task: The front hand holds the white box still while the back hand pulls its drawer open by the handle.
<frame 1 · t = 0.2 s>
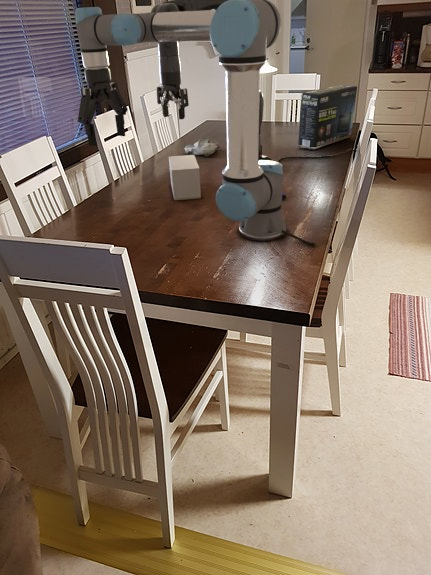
front hand: (107, 140, 148), 28 cm above the table, tool pointing down, fingers open, 13 cm apart
back hand: (173, 117, 170), 29 cm above the table, tool pointing down, fingers open, 8 cm apart
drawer: (183, 172, 189), point 6 cm above the table, slide at 0.9 cm
white box: (185, 191, 187), on the table
fossil: (201, 152, 237), on the table
handgun: (270, 191, 183), on the table
router box: (325, 143, 245), on the table
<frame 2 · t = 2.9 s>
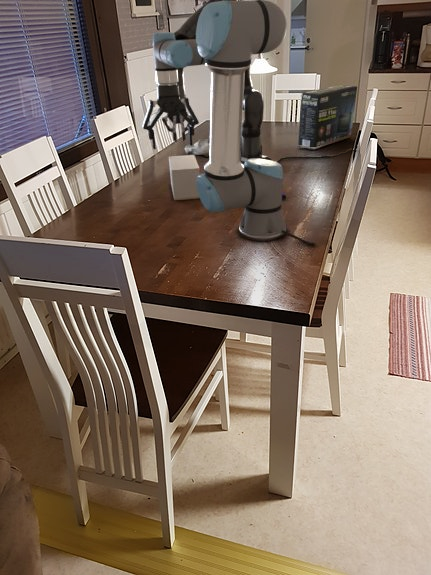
front hand: (172, 146, 168), 20 cm above the table, tool pointing down, fingers open, 13 cm apart
back hand: (179, 141, 191), 16 cm above the table, tool pointing down, fingers closed
nothing on the table moved.
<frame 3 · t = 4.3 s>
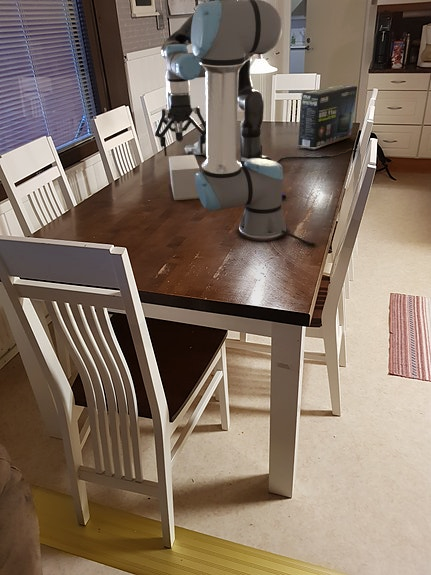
front hand: (183, 153, 173), 17 cm above the table, tool pointing down, fingers open, 13 cm apart
back hand: (179, 141, 191), 16 cm above the table, tool pointing down, fingers closed
nothing on the table moved.
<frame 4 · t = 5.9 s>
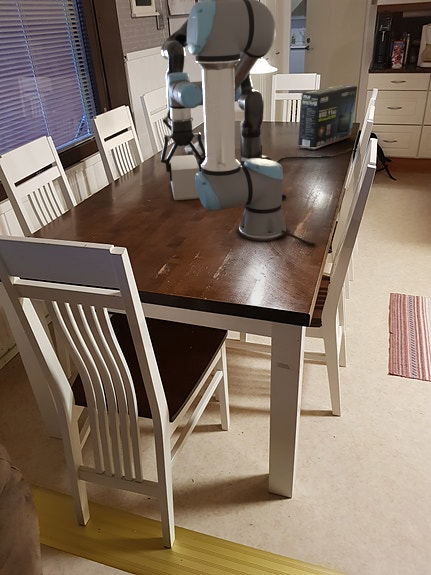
front hand: (185, 178, 178), 7 cm above the table, tool pointing down, fingers closed on white box, 10 cm apart
back hand: (179, 141, 191), 16 cm above the table, tool pointing down, fingers closed
white box: (185, 191, 187), on the table, touching front hand
everything else where it was.
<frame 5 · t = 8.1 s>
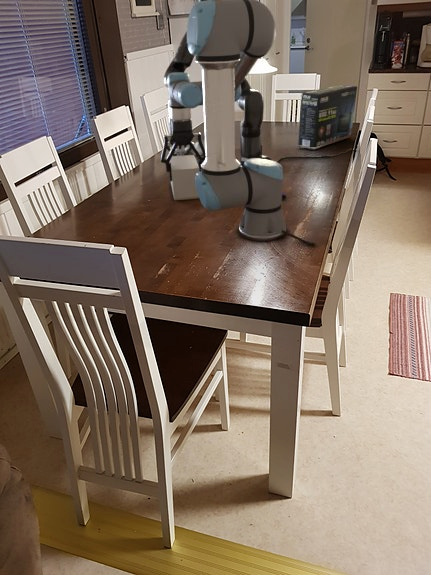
front hand: (185, 178, 178), 7 cm above the table, tool pointing down, fingers closed on white box, 10 cm apart
back hand: (181, 165, 197), 6 cm above the table, tool pointing down, fingers closed
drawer: (183, 172, 189), point 6 cm above the table, slide at 0.9 cm, touching back hand
white box: (185, 191, 187), on the table, touching front hand
everything else where it was.
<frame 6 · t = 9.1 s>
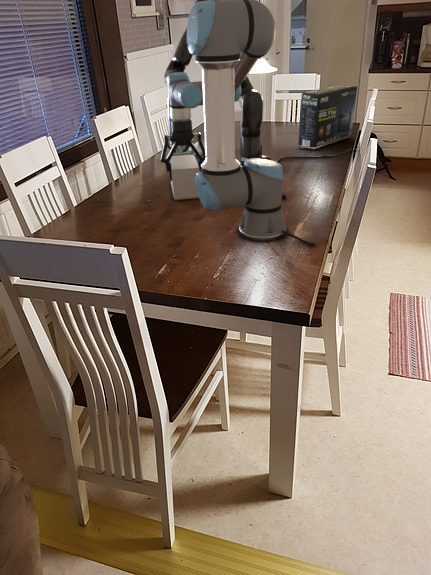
front hand: (185, 178, 178), 7 cm above the table, tool pointing down, fingers closed on white box, 10 cm apart
back hand: (180, 161, 202), 6 cm above the table, tool pointing down, fingers closed
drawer: (181, 168, 194), point 6 cm above the table, slide at 7.1 cm, touching back hand
white box: (185, 190, 187), on the table, touching front hand
everything else where it was.
when the front hand's fingers open (7 cm above the table, at t = 11.0 s): white box stays where it is, on the table.
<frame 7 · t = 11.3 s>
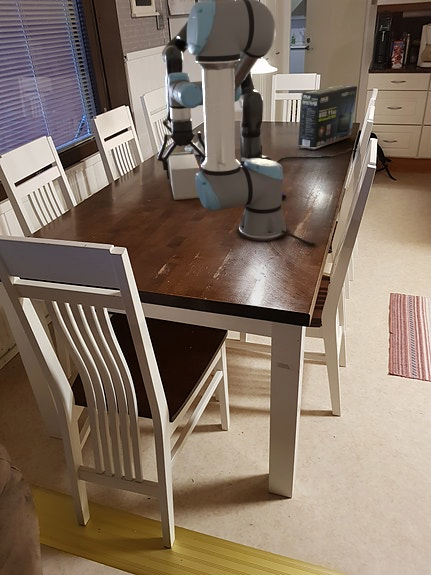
front hand: (185, 176, 178), 8 cm above the table, tool pointing down, fingers open, 13 cm apart
back hand: (178, 142, 198), 14 cm above the table, tool pointing down, fingers closed
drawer: (181, 167, 195), point 6 cm above the table, slide at 7.1 cm
white box: (185, 190, 187), on the table
everything else where it was.
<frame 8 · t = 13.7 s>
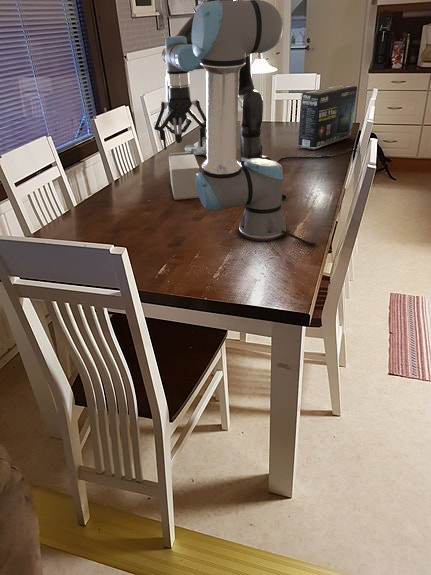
front hand: (183, 147, 172), 19 cm above the table, tool pointing down, fingers open, 13 cm apart
back hand: (178, 142, 198), 14 cm above the table, tool pointing down, fingers closed
nothing on the table moved.
at the end: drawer slide at 7.1 cm; white box tilted 0°; white box never tilted more than 3° during the clip; white box moved 0.7 cm from its start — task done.
